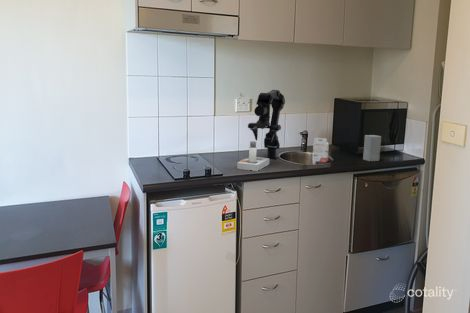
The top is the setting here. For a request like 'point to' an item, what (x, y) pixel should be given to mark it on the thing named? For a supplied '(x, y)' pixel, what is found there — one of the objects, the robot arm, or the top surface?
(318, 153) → the ink cartridge box
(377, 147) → the skincare box
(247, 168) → the socket block
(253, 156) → the white bottle
